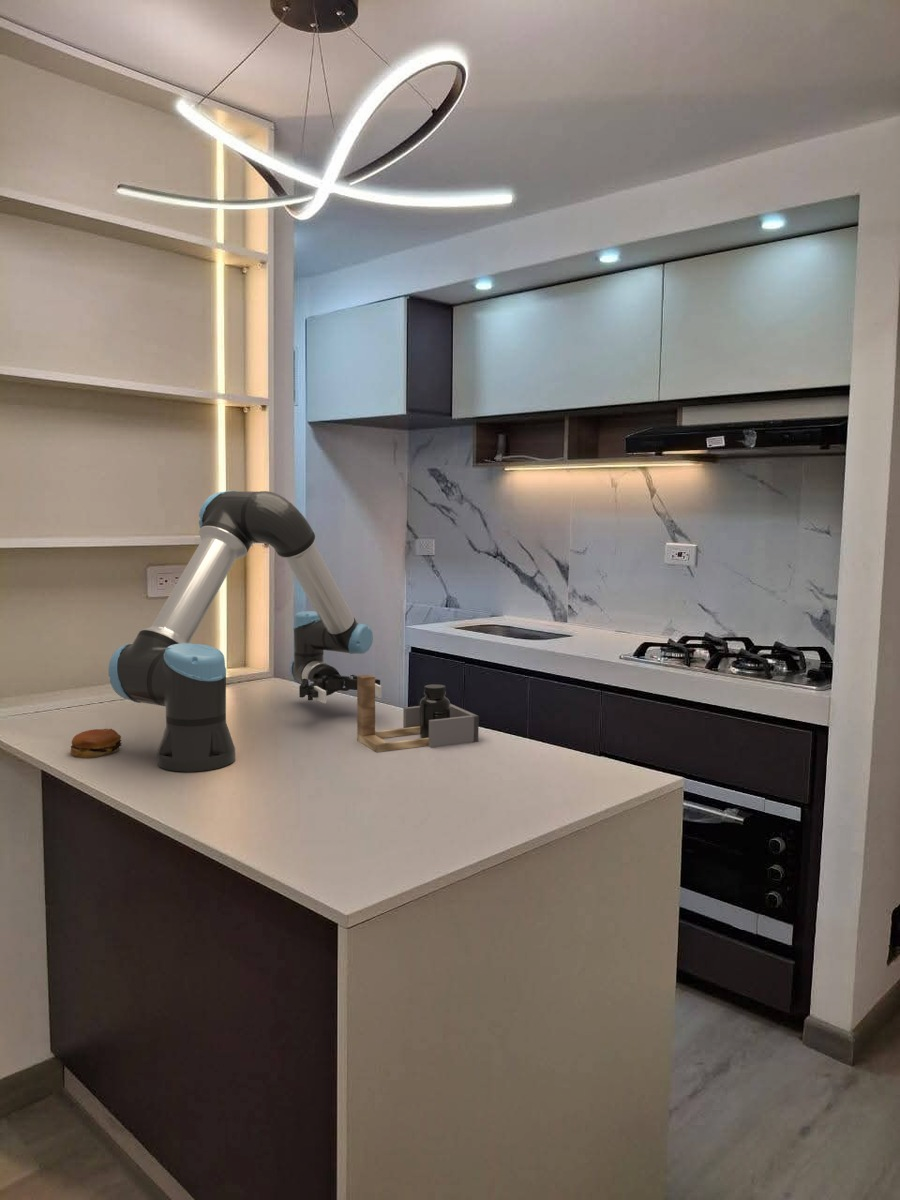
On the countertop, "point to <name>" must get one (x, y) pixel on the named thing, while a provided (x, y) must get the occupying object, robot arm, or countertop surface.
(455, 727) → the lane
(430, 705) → the supplement bottle
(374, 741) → the wooden corner frame
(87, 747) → the burger
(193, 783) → the countertop surface
